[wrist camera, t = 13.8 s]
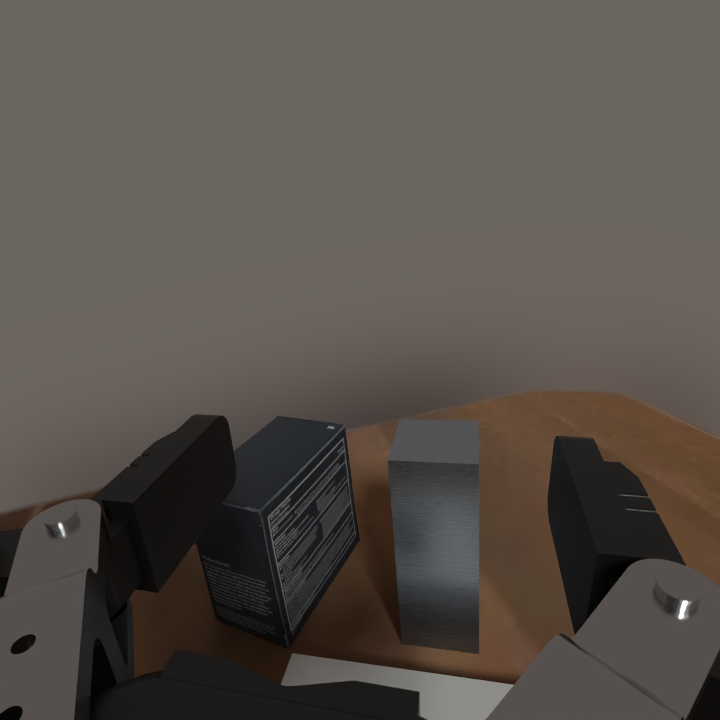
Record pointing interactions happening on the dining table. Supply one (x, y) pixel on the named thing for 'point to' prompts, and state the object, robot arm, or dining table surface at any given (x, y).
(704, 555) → the dining table surface
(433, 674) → the white slotted plate
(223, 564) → the small box
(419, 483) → the brushed metal pillar
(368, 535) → the dining table surface
